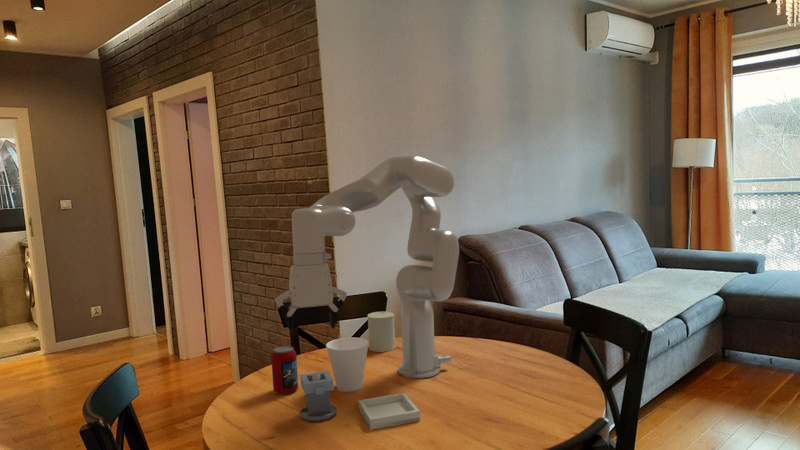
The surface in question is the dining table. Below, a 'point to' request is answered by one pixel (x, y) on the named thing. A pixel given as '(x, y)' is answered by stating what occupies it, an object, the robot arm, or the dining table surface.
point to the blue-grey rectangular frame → (317, 383)
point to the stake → (318, 406)
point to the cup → (348, 362)
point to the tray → (388, 411)
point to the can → (381, 331)
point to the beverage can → (284, 370)
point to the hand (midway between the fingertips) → (312, 329)
